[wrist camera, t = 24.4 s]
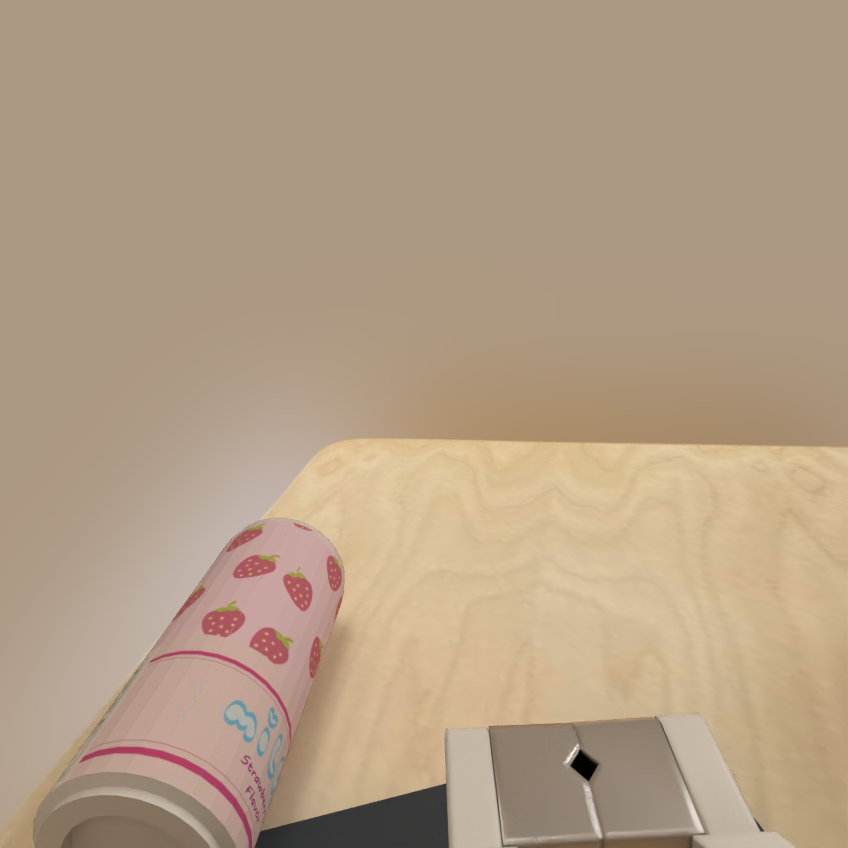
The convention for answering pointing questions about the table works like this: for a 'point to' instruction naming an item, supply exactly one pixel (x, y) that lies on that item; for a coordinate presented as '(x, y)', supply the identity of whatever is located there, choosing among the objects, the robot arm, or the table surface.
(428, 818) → the mat
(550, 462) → the table surface
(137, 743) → the beverage can
